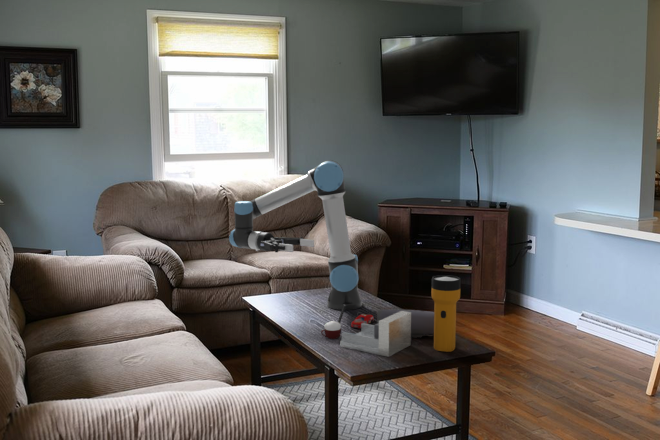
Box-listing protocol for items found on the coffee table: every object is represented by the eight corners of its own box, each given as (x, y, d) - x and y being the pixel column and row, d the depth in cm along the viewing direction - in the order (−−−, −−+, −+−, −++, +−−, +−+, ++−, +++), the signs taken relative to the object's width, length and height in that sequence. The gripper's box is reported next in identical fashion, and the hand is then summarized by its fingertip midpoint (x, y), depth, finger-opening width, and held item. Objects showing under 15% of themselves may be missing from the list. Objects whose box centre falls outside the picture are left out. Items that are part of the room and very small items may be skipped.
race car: (361, 330, 265) (361, 320, 265) (348, 328, 268) (348, 318, 267) (376, 322, 277) (376, 312, 276) (364, 320, 279) (364, 310, 279)
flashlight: (462, 275, 242) (457, 281, 233) (461, 345, 245) (456, 354, 236) (435, 273, 245) (428, 278, 236) (433, 342, 249) (427, 351, 240)
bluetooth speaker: (439, 334, 260) (439, 308, 258) (437, 341, 251) (438, 314, 249) (379, 330, 264) (379, 305, 263) (376, 337, 255) (376, 311, 254)
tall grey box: (379, 338, 247) (380, 322, 246) (387, 339, 245) (387, 323, 244) (374, 341, 244) (374, 324, 243) (381, 342, 242) (381, 326, 241)
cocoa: (321, 341, 253) (319, 309, 251) (322, 335, 259) (320, 304, 257) (347, 340, 253) (345, 308, 251) (347, 334, 259) (345, 303, 257)
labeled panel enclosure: (363, 335, 258) (363, 304, 257) (410, 344, 247) (411, 312, 245) (340, 346, 245) (340, 314, 244) (388, 356, 234) (388, 322, 232)
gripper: (281, 245, 290) (321, 250, 278) (241, 254, 270) (283, 260, 258) (280, 228, 289) (321, 232, 277) (241, 236, 269) (283, 240, 257)
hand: (303, 246), depth 267 cm, fingers open, 13 cm apart
